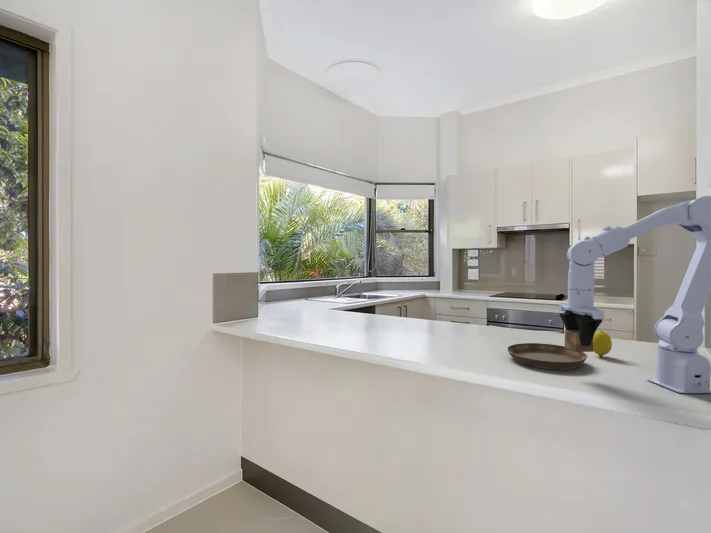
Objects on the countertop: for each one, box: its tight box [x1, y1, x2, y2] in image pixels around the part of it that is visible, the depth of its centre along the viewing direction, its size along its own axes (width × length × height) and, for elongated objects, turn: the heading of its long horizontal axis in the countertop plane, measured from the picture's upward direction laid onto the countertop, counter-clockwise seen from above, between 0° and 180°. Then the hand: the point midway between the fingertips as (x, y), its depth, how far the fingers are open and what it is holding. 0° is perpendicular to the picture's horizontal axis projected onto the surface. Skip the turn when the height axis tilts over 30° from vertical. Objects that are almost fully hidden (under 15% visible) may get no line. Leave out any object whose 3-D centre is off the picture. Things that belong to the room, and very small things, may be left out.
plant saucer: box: [506, 342, 588, 371], centre depth 111 cm, size 21×21×3 cm
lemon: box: [593, 330, 613, 358], centre depth 117 cm, size 6×6×8 cm
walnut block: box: [564, 329, 594, 353], centre depth 98 cm, size 4×4×4 cm
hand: (579, 343), depth 98 cm, fingers closed on walnut block, 4 cm apart
